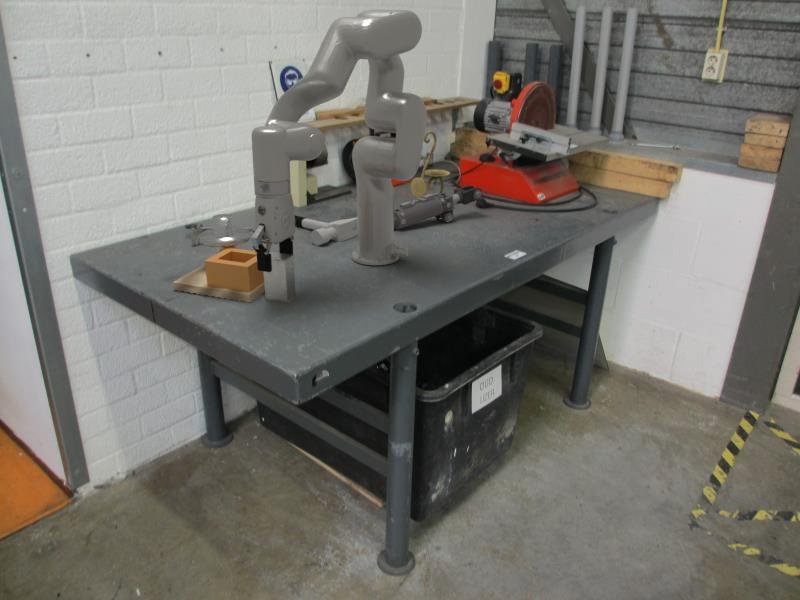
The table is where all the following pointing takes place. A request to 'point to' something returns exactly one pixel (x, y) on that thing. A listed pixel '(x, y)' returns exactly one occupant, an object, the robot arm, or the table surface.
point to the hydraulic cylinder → (434, 206)
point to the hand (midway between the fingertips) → (276, 264)
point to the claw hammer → (328, 229)
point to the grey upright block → (280, 278)
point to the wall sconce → (428, 174)
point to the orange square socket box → (225, 265)
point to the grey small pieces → (198, 231)
